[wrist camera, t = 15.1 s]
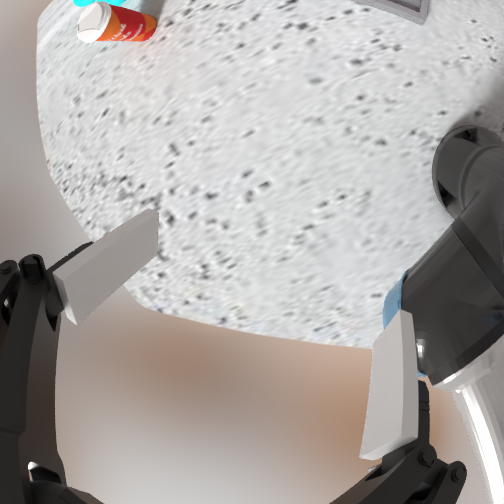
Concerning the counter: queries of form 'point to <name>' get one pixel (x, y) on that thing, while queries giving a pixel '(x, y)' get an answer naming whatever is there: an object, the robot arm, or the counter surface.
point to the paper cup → (114, 24)
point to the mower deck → (402, 8)
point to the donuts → (86, 0)
